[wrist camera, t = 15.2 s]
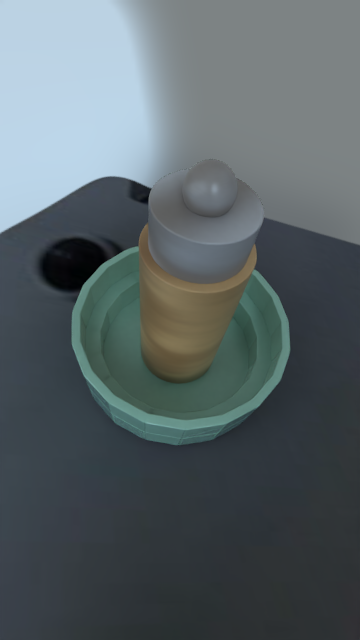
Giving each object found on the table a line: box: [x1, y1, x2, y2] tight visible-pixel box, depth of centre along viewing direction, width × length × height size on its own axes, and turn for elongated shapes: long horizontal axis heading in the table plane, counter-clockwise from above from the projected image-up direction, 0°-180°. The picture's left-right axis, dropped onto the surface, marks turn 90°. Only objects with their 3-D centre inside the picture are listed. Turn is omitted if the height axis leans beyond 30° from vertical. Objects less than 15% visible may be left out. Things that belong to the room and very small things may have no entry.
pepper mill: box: [139, 159, 264, 383], centre depth 16 cm, size 5×5×14 cm
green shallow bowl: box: [71, 246, 290, 445], centre depth 20 cm, size 13×13×4 cm
